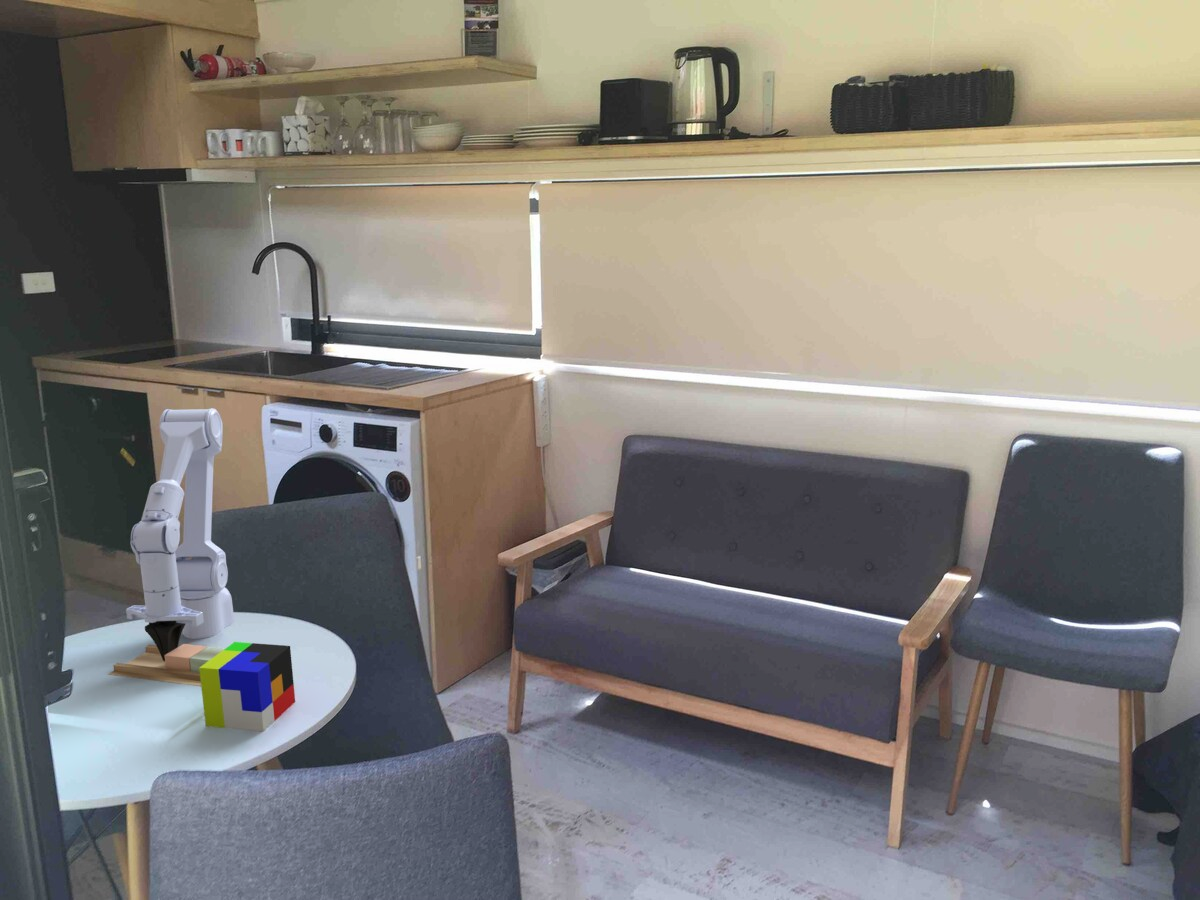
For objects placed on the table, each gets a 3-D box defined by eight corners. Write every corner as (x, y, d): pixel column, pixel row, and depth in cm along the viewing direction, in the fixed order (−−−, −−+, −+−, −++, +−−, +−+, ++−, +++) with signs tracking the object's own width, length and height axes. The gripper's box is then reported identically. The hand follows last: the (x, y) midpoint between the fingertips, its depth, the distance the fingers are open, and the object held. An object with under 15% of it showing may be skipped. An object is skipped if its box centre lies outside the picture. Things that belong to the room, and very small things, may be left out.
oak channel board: (156, 652, 185) (153, 631, 184) (278, 666, 177) (276, 644, 177) (108, 680, 173) (105, 658, 172) (236, 696, 166) (234, 673, 165)
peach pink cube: (185, 659, 178) (183, 643, 178) (209, 662, 177) (207, 646, 176) (166, 671, 174) (164, 655, 173) (190, 674, 172) (188, 658, 172)
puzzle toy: (263, 731, 155) (257, 672, 152) (205, 726, 157) (199, 667, 154) (295, 702, 164) (290, 645, 162) (240, 697, 166) (234, 641, 164)
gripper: (109, 591, 171) (119, 664, 174) (181, 598, 168) (189, 673, 170) (138, 577, 178) (147, 648, 181) (207, 584, 174) (215, 656, 177)
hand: (169, 659), depth 176 cm, fingers closed
